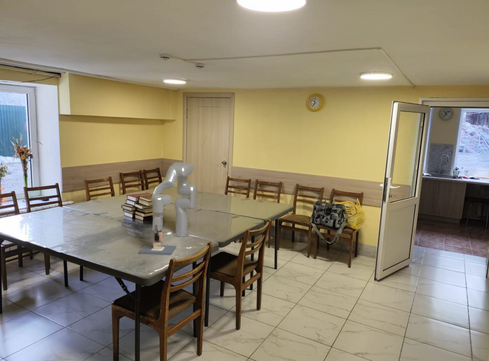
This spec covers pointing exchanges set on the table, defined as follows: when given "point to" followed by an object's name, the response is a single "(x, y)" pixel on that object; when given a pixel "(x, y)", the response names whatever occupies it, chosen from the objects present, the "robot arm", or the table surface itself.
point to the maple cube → (157, 245)
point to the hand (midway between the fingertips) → (158, 239)
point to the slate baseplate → (164, 251)
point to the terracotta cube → (159, 236)
